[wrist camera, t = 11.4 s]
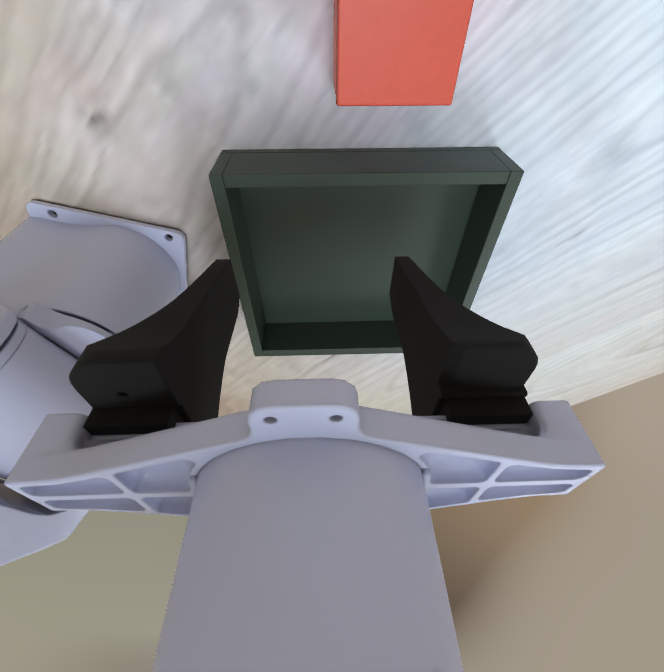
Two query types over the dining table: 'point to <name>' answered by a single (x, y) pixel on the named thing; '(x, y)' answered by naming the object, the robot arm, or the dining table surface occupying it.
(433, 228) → the tote
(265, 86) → the dining table surface
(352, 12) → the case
